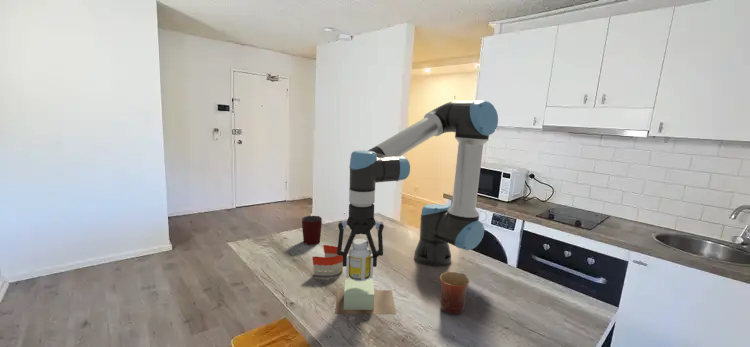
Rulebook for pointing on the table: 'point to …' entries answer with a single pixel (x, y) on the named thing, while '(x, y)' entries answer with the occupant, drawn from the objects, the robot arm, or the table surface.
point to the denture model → (328, 262)
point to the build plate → (381, 303)
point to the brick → (359, 295)
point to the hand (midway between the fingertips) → (359, 275)
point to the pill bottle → (359, 260)
